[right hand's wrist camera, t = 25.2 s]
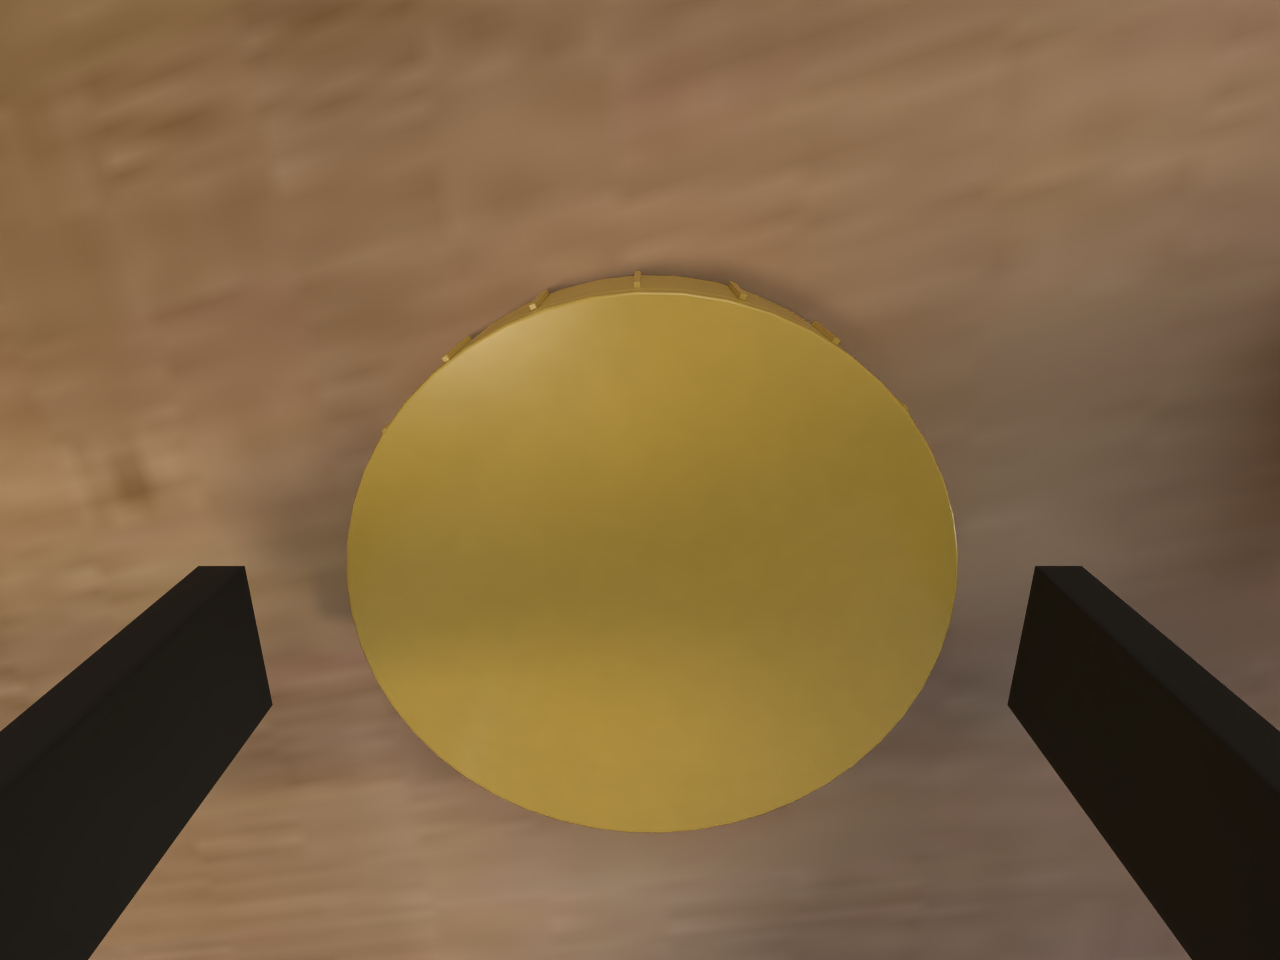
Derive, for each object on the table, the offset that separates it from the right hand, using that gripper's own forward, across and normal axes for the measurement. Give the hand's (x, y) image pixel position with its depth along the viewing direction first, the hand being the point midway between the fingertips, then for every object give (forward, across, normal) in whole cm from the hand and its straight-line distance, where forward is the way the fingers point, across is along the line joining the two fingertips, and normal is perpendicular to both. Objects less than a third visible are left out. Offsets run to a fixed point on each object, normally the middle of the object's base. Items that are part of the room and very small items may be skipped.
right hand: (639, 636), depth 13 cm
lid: (0, 0, +1) cm, 1 cm away
